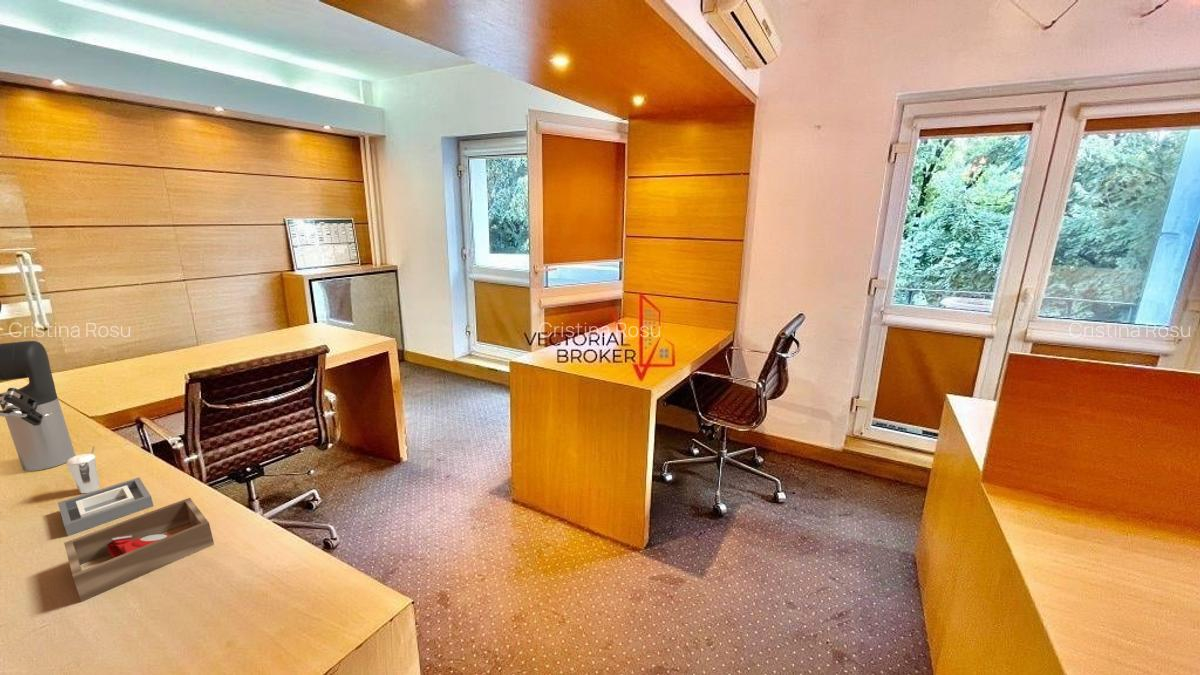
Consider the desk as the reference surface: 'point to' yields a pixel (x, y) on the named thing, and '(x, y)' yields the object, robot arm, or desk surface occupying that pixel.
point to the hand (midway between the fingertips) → (12, 428)
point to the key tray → (143, 557)
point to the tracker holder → (130, 543)
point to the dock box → (104, 505)
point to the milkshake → (84, 472)
